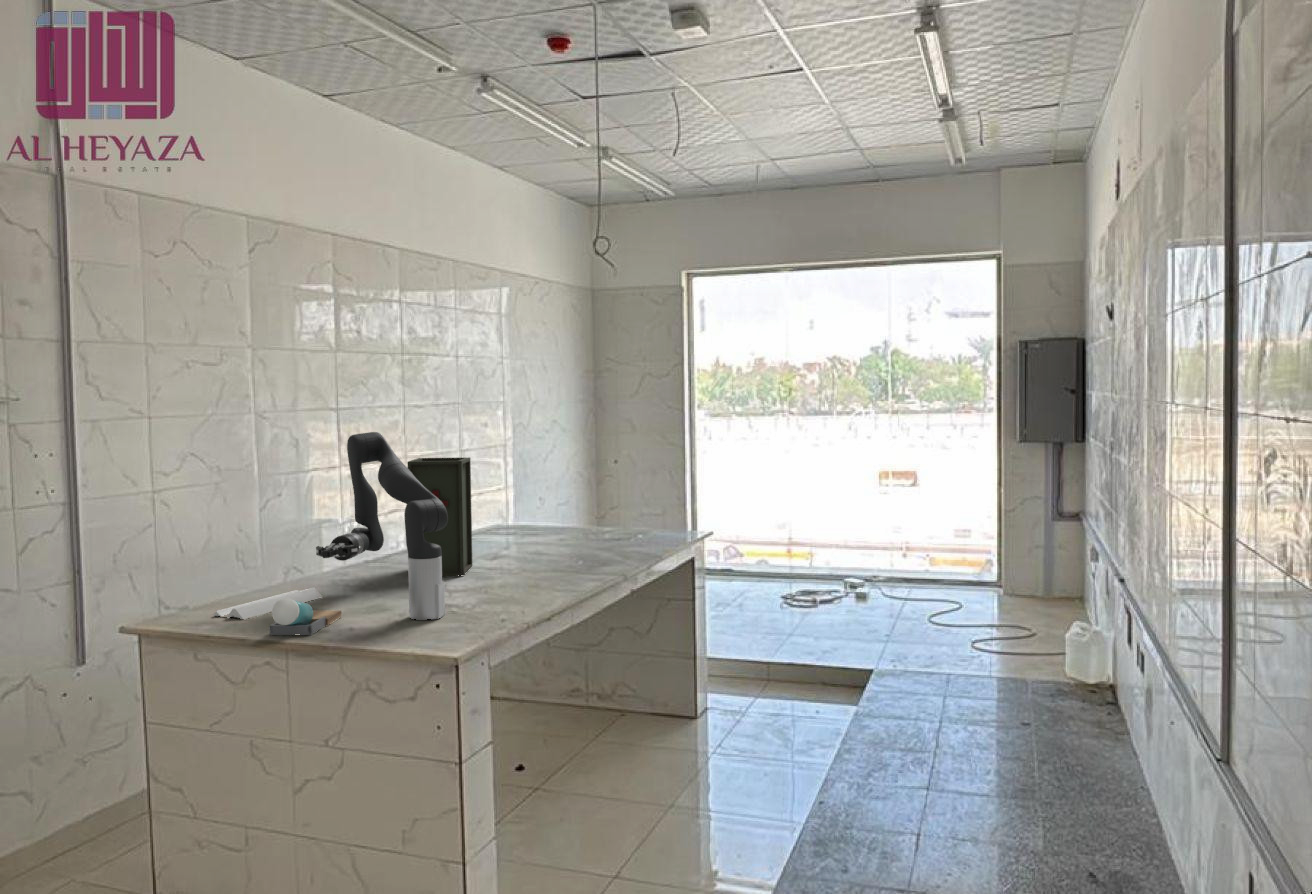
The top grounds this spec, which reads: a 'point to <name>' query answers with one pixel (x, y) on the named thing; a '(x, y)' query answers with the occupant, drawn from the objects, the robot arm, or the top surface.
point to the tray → (297, 628)
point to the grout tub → (292, 612)
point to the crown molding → (267, 603)
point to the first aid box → (449, 508)
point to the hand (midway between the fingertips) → (325, 554)
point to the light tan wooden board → (329, 616)
